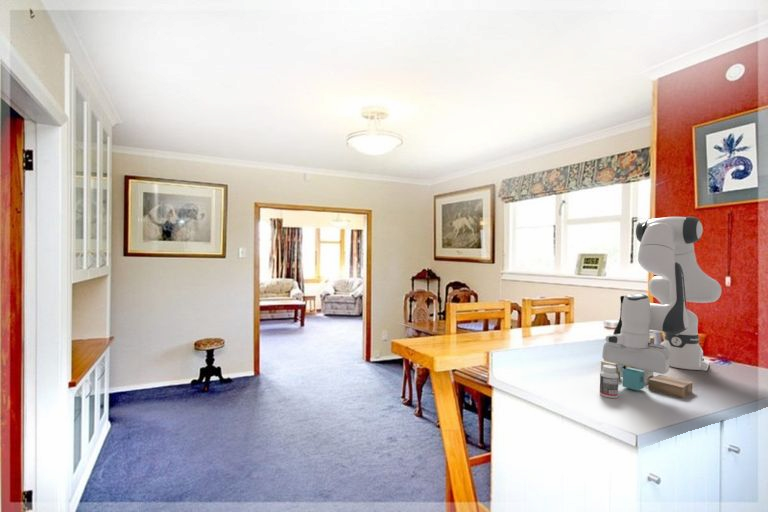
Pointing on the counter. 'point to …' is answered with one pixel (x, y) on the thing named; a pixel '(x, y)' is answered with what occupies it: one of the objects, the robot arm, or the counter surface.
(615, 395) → the pill bottle
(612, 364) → the birch block
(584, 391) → the counter surface
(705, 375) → the counter surface
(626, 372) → the teal block
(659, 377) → the walnut plinth
